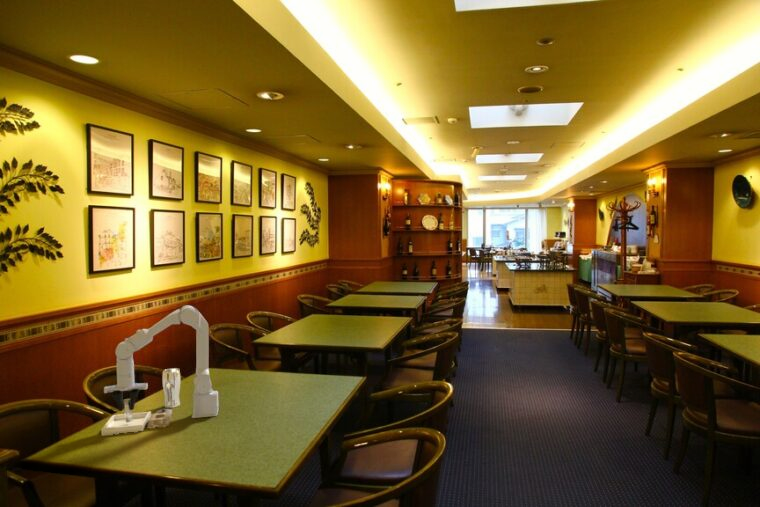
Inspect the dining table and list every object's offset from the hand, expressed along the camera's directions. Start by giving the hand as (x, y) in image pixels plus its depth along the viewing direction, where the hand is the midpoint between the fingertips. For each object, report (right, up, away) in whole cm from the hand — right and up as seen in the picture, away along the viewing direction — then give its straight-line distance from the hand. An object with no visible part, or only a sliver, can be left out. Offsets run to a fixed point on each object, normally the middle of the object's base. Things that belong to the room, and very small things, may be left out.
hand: (126, 409), depth 178 cm
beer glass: (+8, -6, +22) cm, 24 cm away
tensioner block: (+11, -6, +5) cm, 13 cm away
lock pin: (+1, -4, 0) cm, 4 cm away
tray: (0, -6, 0) cm, 6 cm away
